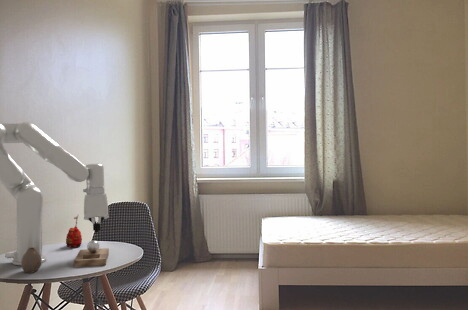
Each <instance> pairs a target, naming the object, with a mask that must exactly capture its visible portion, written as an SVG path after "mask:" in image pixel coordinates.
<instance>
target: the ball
mask: <svg viewBox="0 0 468 310" xmlns="http://www.w3.org/2000/svg"><path fill="white" fill-rule="evenodd" d="M86 249H88V250H89V251H90V252H96V251H97V250H98V249H100V243H99V241H97V240H94V239H93V240H90V241H89V242H88V243H87V246H86Z"/></svg>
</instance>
